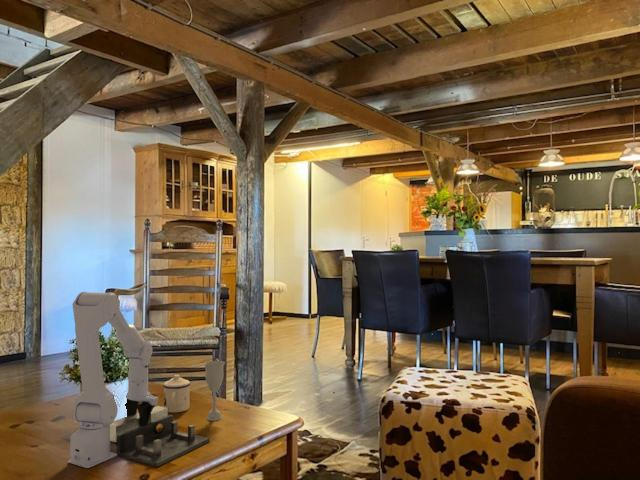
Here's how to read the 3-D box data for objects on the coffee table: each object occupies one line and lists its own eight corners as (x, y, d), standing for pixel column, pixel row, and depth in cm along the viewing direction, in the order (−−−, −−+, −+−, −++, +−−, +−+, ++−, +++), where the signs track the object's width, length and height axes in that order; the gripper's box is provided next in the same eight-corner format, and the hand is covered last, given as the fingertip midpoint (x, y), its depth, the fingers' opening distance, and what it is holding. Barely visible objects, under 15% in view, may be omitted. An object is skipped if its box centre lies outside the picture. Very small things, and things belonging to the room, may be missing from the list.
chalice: (222, 421, 170) (222, 365, 170) (201, 421, 170) (201, 365, 170) (226, 414, 177) (227, 360, 178) (206, 414, 177) (206, 360, 178)
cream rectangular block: (115, 442, 150) (116, 426, 150) (105, 439, 152) (105, 423, 152) (167, 421, 167) (167, 407, 167) (157, 419, 170) (157, 405, 170)
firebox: (157, 467, 135) (157, 445, 135) (116, 455, 143) (117, 435, 143) (209, 441, 153) (209, 422, 153) (171, 432, 160) (171, 414, 160)
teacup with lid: (165, 405, 188) (166, 372, 188) (192, 404, 188) (192, 371, 188) (158, 416, 176) (158, 381, 176) (186, 415, 176) (186, 380, 176)
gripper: (165, 380, 160) (165, 425, 160) (131, 374, 167) (131, 417, 167) (147, 385, 154) (147, 432, 154) (113, 379, 161) (113, 424, 161)
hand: (138, 425), depth 160 cm, fingers closed on cream rectangular block, 4 cm apart
